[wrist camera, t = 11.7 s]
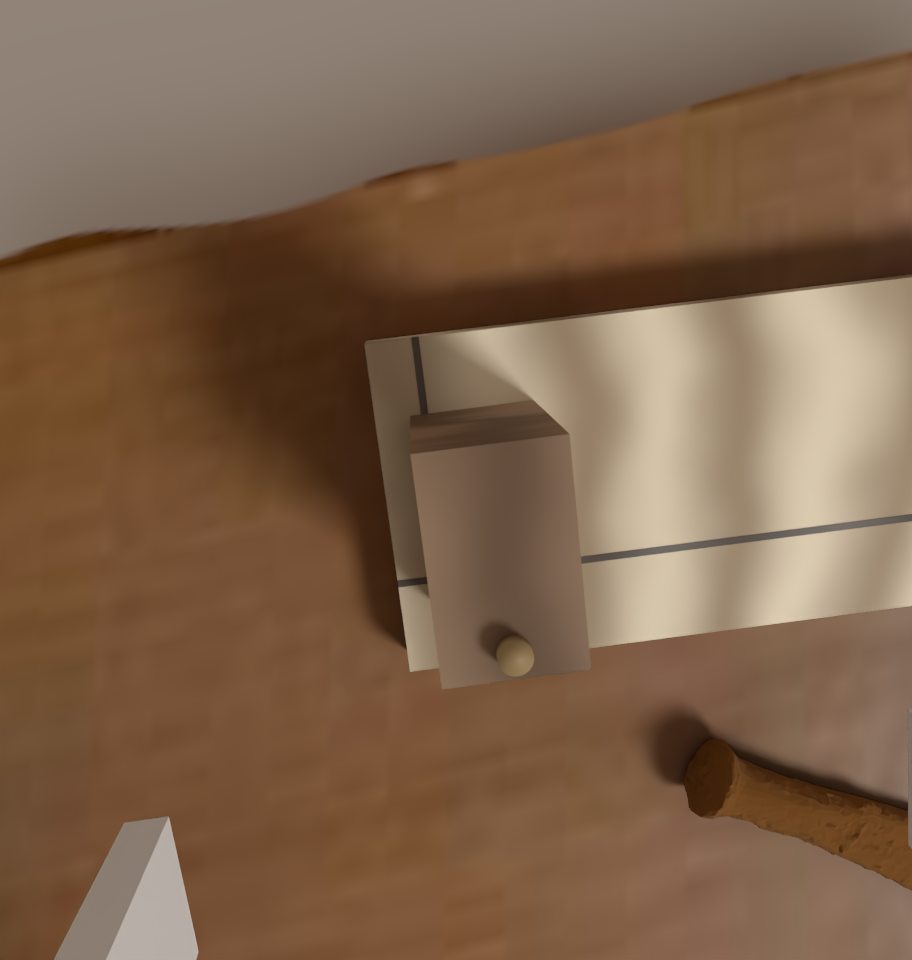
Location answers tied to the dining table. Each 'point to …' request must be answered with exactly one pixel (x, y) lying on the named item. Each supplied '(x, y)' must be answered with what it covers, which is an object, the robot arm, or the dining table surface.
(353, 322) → the dining table surface
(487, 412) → the beige drawer
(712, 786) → the primitive tool
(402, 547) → the board
